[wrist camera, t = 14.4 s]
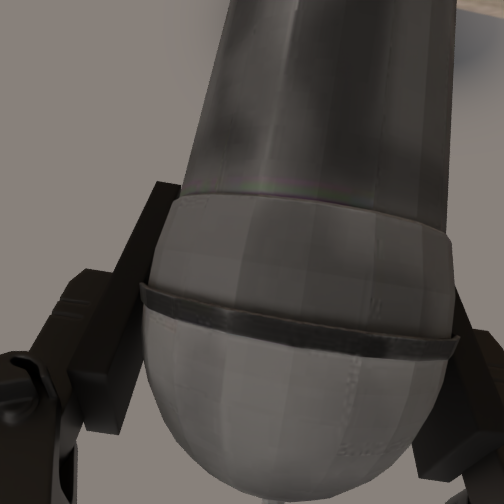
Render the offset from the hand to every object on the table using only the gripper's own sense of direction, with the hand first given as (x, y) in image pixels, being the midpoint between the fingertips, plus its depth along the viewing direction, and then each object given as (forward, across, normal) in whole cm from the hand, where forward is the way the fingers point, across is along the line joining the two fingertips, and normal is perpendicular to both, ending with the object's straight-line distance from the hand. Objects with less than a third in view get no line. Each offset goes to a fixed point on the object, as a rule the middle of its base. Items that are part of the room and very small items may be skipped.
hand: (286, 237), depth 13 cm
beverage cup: (+4, 0, +9) cm, 10 cm away
